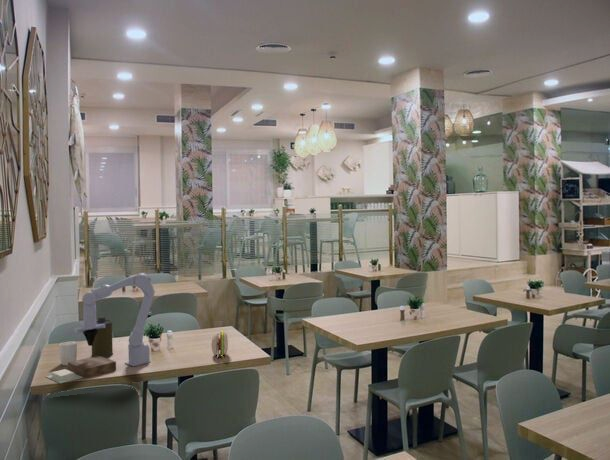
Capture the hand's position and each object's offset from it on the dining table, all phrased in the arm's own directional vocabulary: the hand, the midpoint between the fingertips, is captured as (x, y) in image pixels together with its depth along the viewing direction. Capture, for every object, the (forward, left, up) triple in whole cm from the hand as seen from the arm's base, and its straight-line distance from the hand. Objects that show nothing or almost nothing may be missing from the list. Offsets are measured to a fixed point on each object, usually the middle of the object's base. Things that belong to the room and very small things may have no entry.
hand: (90, 345), depth 247 cm
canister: (-14, -15, -11) cm, 23 cm away
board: (+3, +6, -10) cm, 12 cm away
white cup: (+4, -14, -11) cm, 18 cm away
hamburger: (-52, +33, -11) cm, 63 cm away
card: (+16, +6, -8) cm, 19 cm away
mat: (+16, +6, -10) cm, 20 cm away
